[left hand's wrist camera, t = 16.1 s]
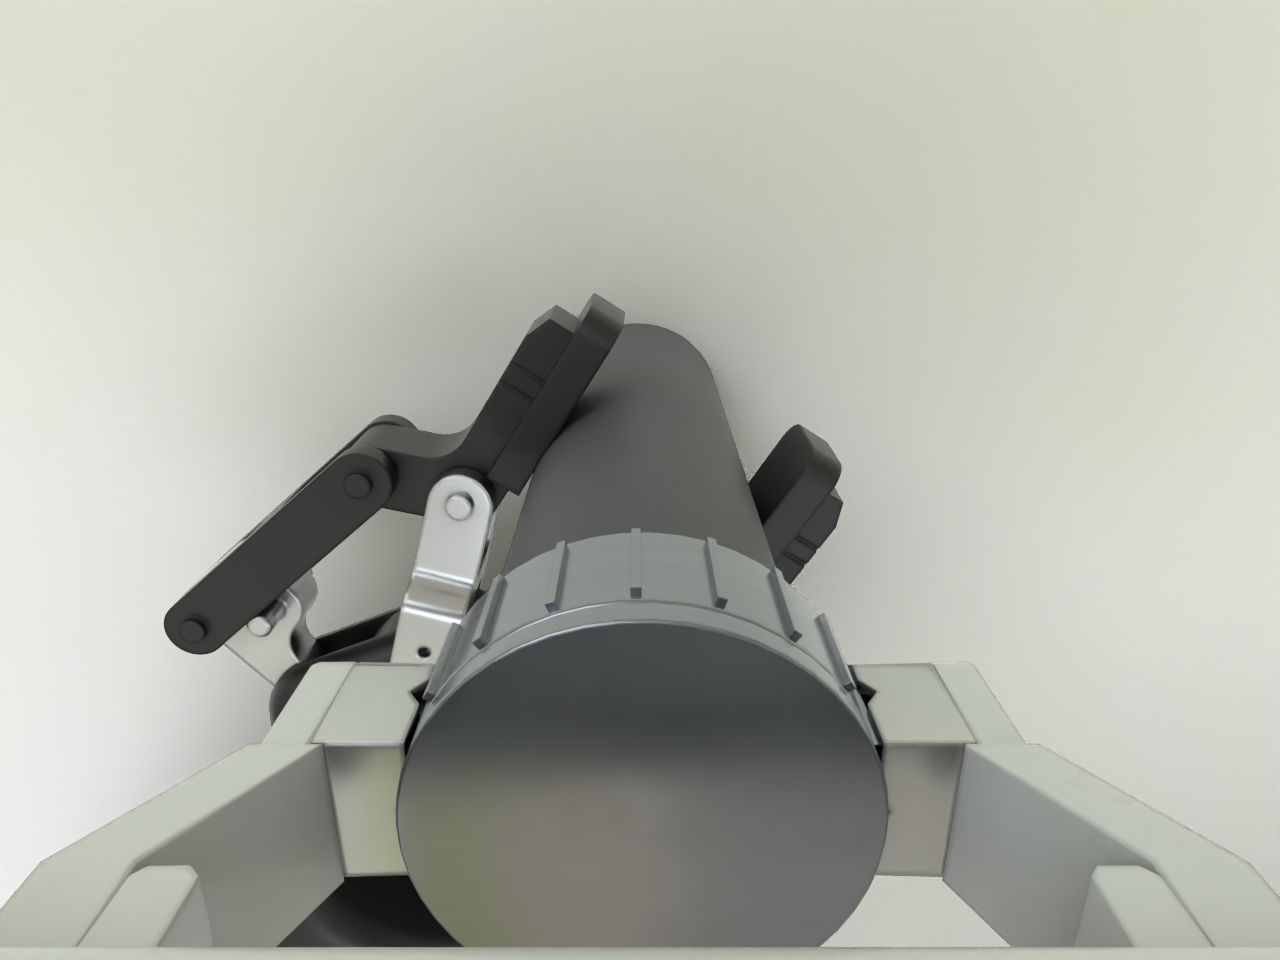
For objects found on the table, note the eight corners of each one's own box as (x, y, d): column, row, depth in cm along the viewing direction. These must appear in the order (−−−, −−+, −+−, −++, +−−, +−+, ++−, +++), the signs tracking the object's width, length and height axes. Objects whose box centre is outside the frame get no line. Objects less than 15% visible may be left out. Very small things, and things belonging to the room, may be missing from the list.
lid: (487, 468, 9) (450, 546, 7) (921, 593, 10) (985, 694, 8) (392, 822, 11) (344, 954, 9) (764, 910, 12) (788, 1052, 10)
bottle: (748, 397, 23) (919, 780, 9) (642, 503, 24) (651, 986, 10) (633, 289, 22) (629, 539, 8) (527, 405, 23) (365, 800, 9)
